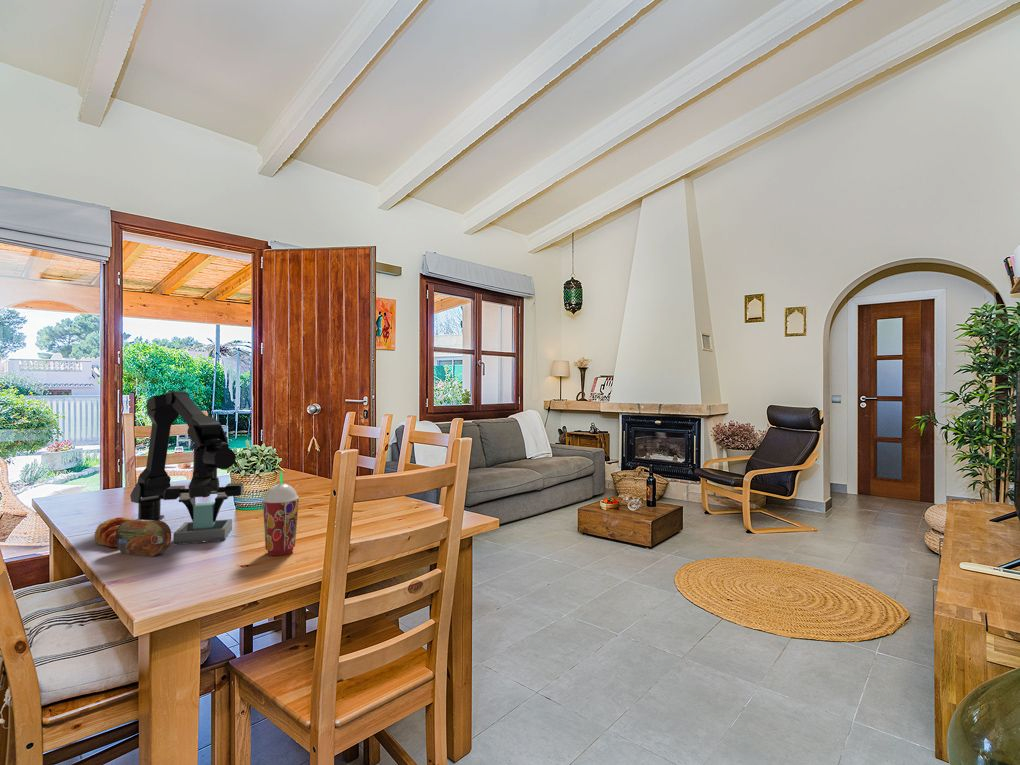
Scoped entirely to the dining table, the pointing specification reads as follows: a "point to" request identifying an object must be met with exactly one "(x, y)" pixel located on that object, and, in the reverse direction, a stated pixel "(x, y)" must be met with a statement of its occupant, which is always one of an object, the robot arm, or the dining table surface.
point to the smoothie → (280, 518)
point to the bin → (202, 532)
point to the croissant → (108, 531)
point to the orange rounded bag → (143, 537)
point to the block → (203, 515)
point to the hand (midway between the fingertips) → (204, 522)
